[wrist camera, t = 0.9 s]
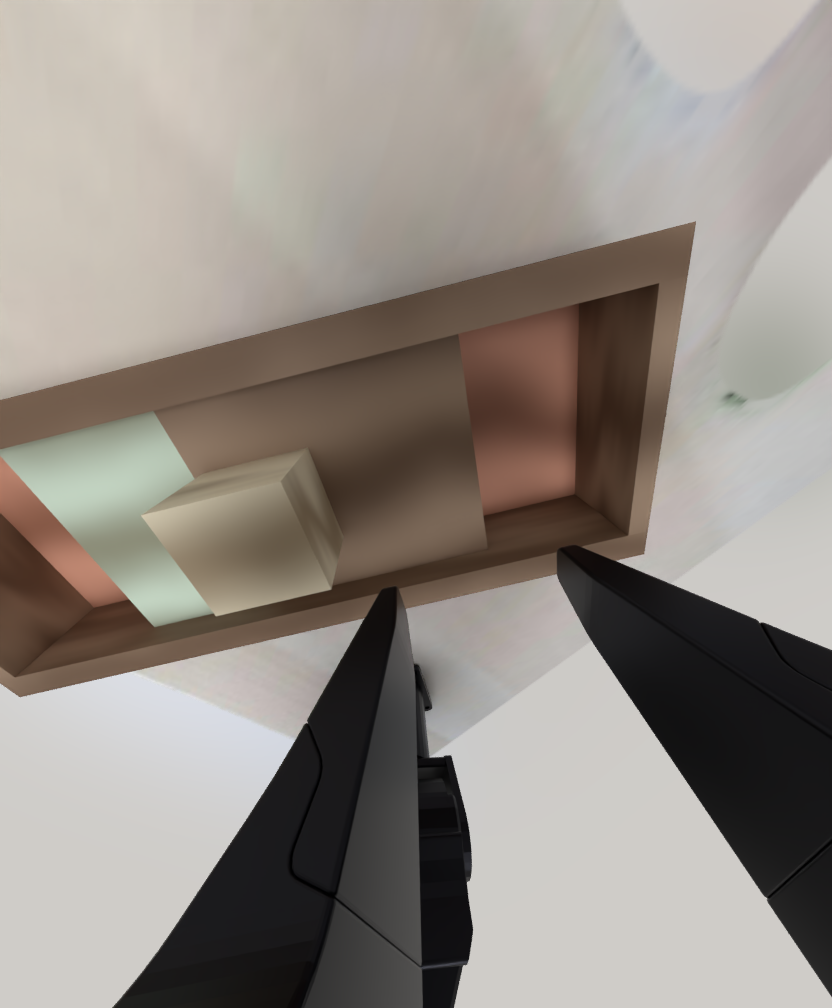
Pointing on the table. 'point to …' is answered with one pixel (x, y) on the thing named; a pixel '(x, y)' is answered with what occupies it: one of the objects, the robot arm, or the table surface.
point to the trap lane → (347, 457)
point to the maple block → (252, 532)
